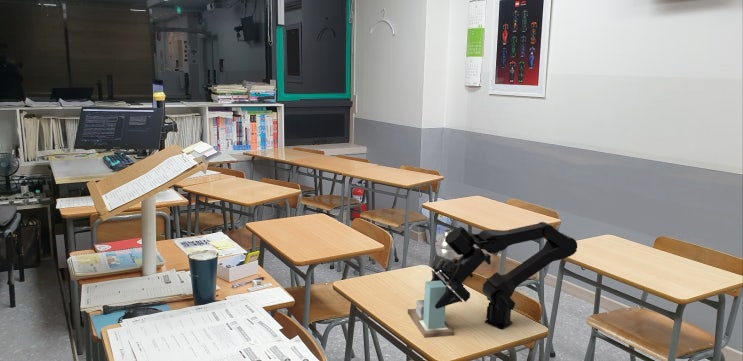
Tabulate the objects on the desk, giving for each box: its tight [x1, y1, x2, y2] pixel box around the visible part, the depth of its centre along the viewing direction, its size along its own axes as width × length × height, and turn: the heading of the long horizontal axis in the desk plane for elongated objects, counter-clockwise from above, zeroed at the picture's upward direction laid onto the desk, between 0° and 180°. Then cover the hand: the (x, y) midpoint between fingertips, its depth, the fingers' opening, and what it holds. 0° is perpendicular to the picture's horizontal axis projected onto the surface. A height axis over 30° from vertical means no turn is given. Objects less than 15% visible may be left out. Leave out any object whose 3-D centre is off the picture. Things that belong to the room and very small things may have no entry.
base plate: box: [407, 299, 454, 338], centre depth 163 cm, size 9×17×5 cm, turn 13°
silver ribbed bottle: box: [438, 229, 456, 285], centre depth 196 cm, size 6×7×20 cm
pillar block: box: [423, 280, 446, 329], centre depth 159 cm, size 5×5×13 cm
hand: (430, 301), depth 159 cm, fingers open, 9 cm apart
